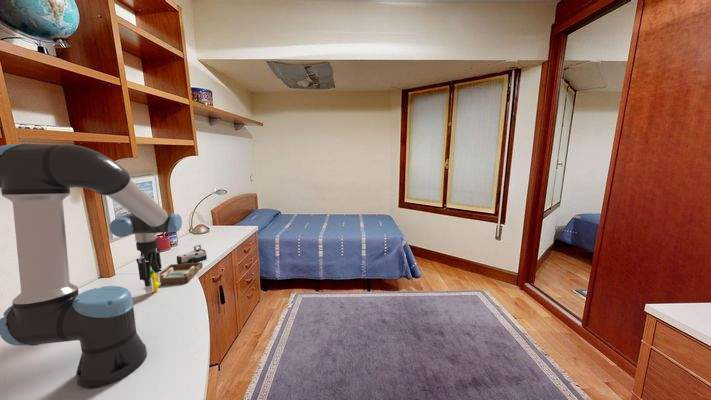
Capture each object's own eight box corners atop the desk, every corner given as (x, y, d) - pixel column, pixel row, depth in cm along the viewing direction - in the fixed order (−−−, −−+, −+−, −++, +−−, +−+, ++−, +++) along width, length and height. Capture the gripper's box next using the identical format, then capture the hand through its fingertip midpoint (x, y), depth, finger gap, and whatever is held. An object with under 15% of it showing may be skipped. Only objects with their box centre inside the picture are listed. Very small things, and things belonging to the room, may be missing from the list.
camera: (183, 269, 145) (181, 252, 143) (176, 266, 149) (174, 250, 147) (209, 261, 158) (208, 245, 156) (202, 258, 161) (201, 243, 160)
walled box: (187, 283, 128) (187, 277, 127) (151, 286, 125) (150, 279, 125) (202, 268, 146) (202, 262, 146) (171, 270, 144) (170, 264, 143)
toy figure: (144, 296, 117) (138, 274, 112) (146, 291, 119) (140, 269, 115) (162, 292, 119) (157, 271, 115) (163, 287, 122) (159, 267, 118)
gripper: (144, 246, 106) (151, 298, 110) (166, 233, 124) (172, 279, 127) (123, 247, 105) (131, 300, 109) (149, 234, 122) (155, 280, 126)
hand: (153, 288), depth 118 cm, fingers closed on toy figure, 5 cm apart
